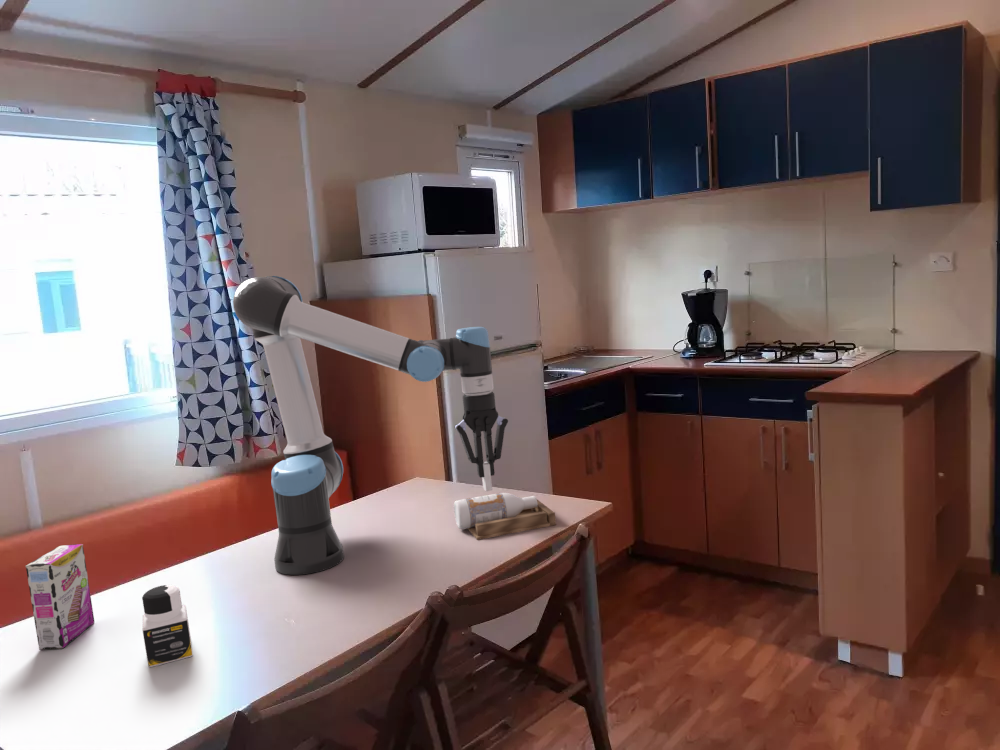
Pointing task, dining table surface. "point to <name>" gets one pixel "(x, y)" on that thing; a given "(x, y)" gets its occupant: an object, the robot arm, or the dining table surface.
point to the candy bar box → (60, 596)
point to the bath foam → (490, 508)
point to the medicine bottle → (165, 626)
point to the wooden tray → (516, 523)
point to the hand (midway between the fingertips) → (487, 489)
